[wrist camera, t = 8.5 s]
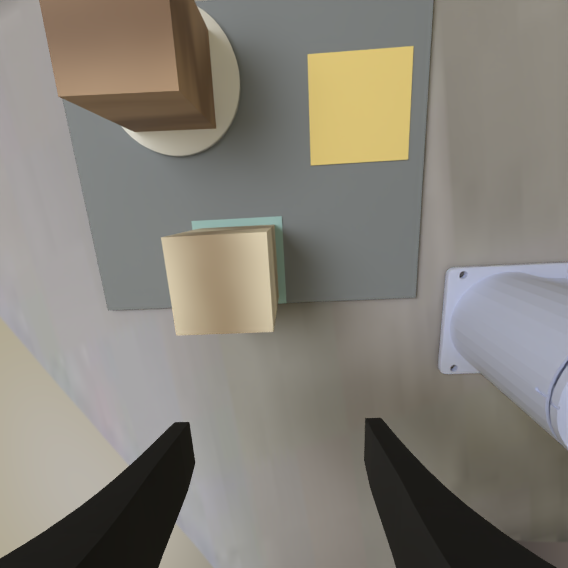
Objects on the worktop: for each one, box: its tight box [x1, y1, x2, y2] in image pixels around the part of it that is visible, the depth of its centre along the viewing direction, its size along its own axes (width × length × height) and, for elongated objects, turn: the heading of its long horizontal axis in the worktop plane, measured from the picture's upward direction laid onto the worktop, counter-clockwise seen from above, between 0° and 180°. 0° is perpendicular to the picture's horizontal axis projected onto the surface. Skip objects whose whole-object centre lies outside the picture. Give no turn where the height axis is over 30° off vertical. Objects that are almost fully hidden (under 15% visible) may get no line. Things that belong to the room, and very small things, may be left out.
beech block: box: [161, 224, 279, 335], centre depth 17 cm, size 5×5×6 cm
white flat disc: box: [122, 6, 241, 157], centre depth 17 cm, size 8×8×1 cm
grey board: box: [62, 0, 433, 310], centre depth 19 cm, size 22×18×1 cm
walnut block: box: [39, 0, 216, 132], centre depth 14 cm, size 5×5×6 cm
